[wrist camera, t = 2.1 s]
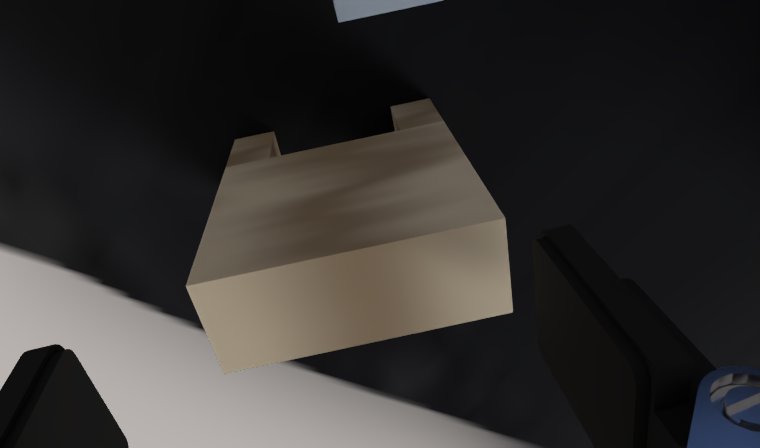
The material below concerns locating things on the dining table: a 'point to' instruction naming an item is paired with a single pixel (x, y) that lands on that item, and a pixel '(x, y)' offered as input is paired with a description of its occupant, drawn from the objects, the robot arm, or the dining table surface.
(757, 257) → the dining table surface
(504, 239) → the notched wooden block
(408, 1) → the plain gray rectangular bar
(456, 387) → the dining table surface
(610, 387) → the robot arm
